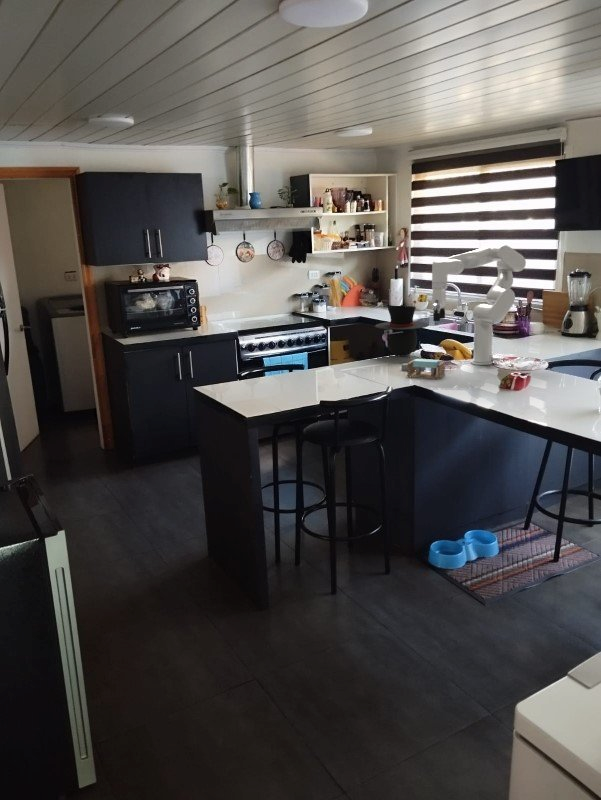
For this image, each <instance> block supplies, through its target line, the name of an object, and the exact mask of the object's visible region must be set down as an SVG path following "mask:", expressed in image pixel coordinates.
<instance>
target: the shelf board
mask: <svg viewBox="0 0 601 800" xmlns="http://www.w3.org/2000/svg"><path fill="white" fill-rule="evenodd" d="M413 360H414V361H413V367H425V368H429V369H431V368H437V366H438V364H440V363H441V362H440V359H428V358H427V359H426V358H415V359H413Z"/></svg>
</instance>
